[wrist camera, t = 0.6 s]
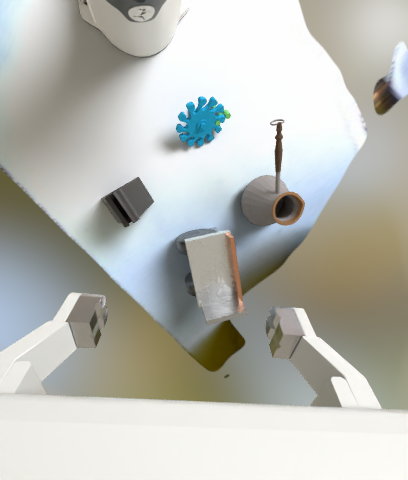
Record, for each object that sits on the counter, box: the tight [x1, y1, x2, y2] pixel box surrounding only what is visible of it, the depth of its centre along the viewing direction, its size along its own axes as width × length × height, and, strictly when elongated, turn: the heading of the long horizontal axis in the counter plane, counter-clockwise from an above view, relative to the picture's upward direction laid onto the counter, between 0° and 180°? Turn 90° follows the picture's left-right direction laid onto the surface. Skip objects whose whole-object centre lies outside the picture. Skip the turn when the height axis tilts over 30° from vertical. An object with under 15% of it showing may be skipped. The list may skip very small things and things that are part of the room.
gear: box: [176, 97, 231, 146], centre depth 47 cm, size 11×6×10 cm
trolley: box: [176, 227, 247, 325], centre depth 51 cm, size 15×10×17 cm
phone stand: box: [101, 177, 154, 227], centre depth 46 cm, size 9×6×12 cm, turn 119°
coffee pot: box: [241, 119, 305, 226], centre depth 48 cm, size 21×12×15 cm, turn 17°
